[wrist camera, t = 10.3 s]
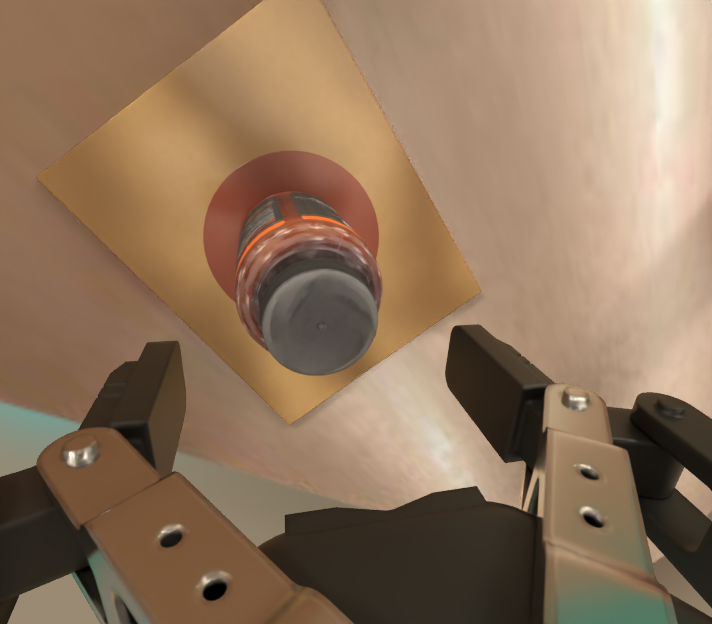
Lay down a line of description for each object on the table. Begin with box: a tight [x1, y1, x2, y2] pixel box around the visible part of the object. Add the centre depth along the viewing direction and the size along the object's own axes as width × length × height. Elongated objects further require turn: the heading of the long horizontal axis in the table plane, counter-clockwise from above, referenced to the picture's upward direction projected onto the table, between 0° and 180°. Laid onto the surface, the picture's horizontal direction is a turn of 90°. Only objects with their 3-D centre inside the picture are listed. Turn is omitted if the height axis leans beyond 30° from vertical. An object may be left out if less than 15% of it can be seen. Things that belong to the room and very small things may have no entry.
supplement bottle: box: [235, 191, 383, 376], centre depth 19 cm, size 6×6×11 cm
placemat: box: [36, 0, 481, 425], centre depth 24 cm, size 16×20×1 cm
